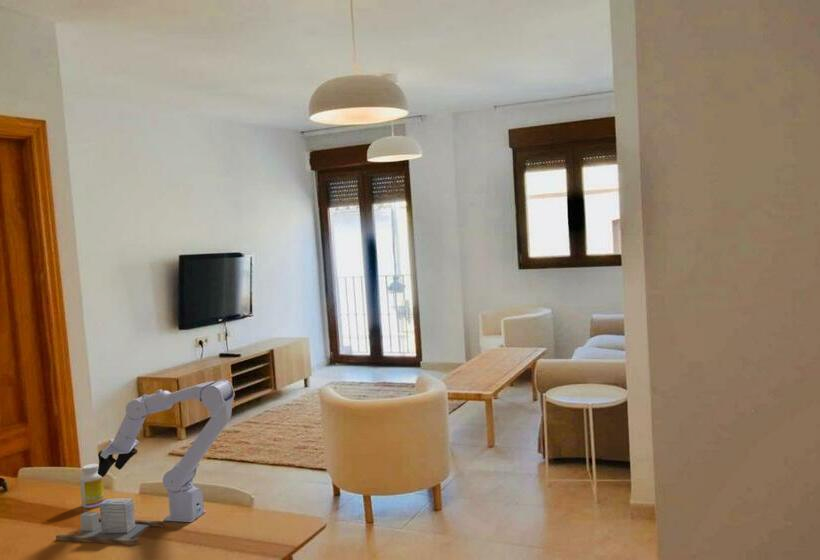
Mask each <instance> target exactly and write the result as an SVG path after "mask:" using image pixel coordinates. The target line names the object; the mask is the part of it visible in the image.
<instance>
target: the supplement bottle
mask: <svg viewBox="0 0 820 560" xmlns="http://www.w3.org/2000/svg"><path fill="white" fill-rule="evenodd" d="M98 468H99V463H89V464H86V465H83V466H82V472H83V474H81V475H80V477H79V482H80V483H79V484H80V493H81V505H82V507H83V509H93V508H97V506H98V507H100V504H101V503H103V502H104V501H105V500H106V499H105V498H106V497H105V487H104V486H105V485H104V477H102V476H100V475H99V474H98Z"/></svg>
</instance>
